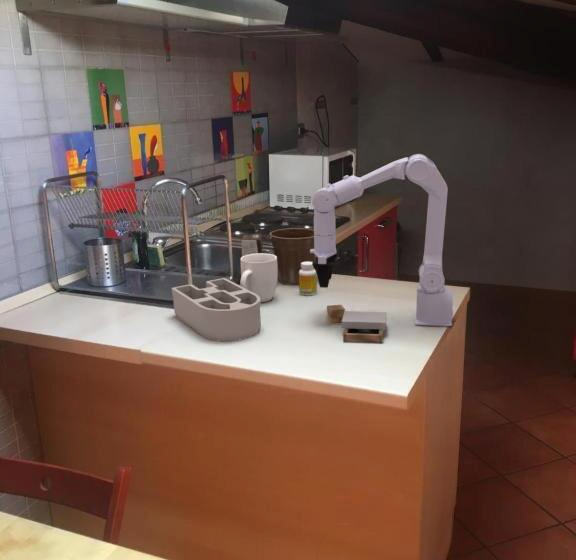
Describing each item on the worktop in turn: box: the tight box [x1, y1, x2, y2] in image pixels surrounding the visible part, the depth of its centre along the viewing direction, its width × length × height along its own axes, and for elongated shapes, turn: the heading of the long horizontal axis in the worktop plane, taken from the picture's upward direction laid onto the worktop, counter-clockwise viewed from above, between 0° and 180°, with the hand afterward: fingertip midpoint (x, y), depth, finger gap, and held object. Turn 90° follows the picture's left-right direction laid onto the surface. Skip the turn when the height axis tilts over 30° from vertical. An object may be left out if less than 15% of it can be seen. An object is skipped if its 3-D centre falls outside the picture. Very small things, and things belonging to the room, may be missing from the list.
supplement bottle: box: [298, 262, 318, 296], centre depth 196 cm, size 5×5×10 cm
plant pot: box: [269, 227, 316, 286], centre depth 209 cm, size 16×16×16 cm
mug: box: [239, 252, 278, 303], centre depth 190 cm, size 15×11×13 cm
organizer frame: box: [342, 328, 384, 344], centre depth 164 cm, size 10×14×2 cm
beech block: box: [326, 304, 346, 325], centre depth 172 cm, size 4×4×4 cm
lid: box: [341, 310, 387, 330], centre depth 165 cm, size 11×8×2 cm
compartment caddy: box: [171, 277, 262, 342], centre depth 172 cm, size 17×28×9 cm, turn 31°
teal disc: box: [358, 329, 372, 333], centre depth 166 cm, size 3×3×1 cm
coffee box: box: [240, 233, 264, 257], centre depth 206 cm, size 9×6×16 cm
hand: (325, 283), depth 172 cm, fingers open, 7 cm apart
